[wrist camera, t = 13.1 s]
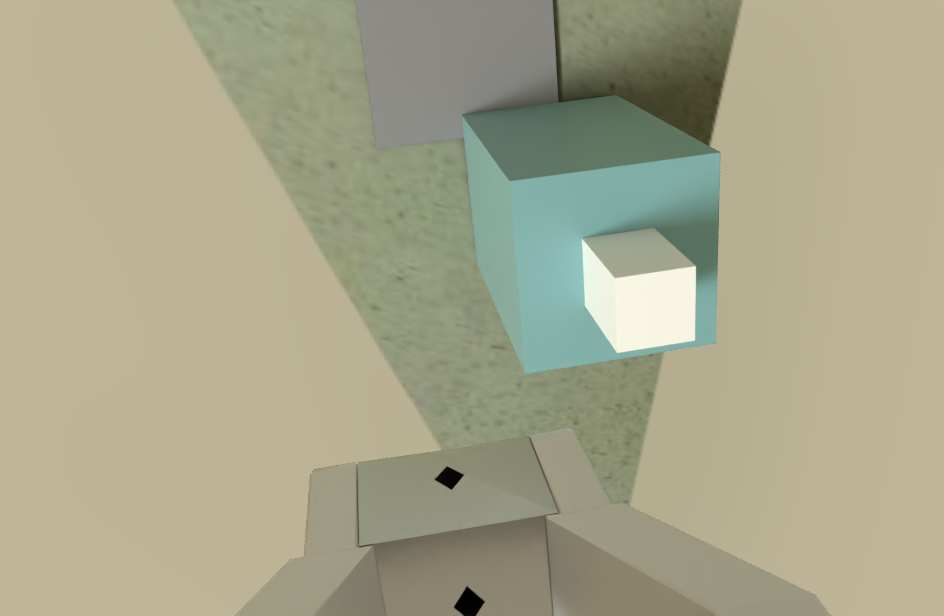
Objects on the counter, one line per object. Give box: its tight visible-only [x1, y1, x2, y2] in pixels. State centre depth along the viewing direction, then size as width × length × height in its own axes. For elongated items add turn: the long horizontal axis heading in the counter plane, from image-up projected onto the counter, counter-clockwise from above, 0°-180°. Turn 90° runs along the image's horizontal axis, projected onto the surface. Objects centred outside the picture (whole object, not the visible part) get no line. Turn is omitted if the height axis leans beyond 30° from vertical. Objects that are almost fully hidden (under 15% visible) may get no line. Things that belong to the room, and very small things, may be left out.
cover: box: [462, 95, 720, 374], centre depth 39 cm, size 8×8×18 cm
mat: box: [356, 0, 558, 149], centre depth 43 cm, size 10×10×1 cm
